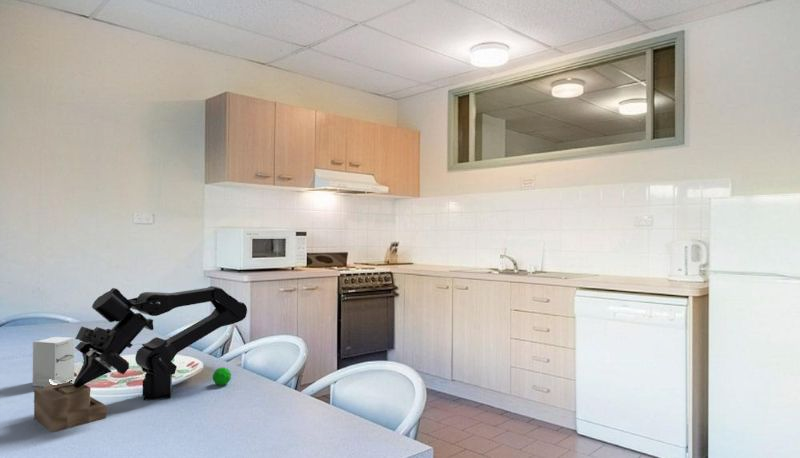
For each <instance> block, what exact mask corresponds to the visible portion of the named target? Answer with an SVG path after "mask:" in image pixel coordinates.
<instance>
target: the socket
mask: <svg viewBox="0 0 800 458" xmlns="http://www.w3.org/2000/svg"><path fill="white" fill-rule="evenodd" d="M73 383H74V382H72V381H70V382H67V383H62V384H57V385H52V386H47V387H38V388H34V389H33V390H34V393H33V394H34V395H33V399H34V400H33V409H34V411H33V414H34V415H33V419H34V420H36V421H37V422H38V423H40V425H42V426H43V427H44V428H46V429H48V430H49V431H50V432H52V433H54V432H57V431H62V430H64V429H65V430H66V429H69V428H72V427H73V428H74V427H76V426H80V425H84V424H88V423H91V422H92V423H93V422H96V421H99V420H103V419H106V418H107V405H106V404H104V403H103V402H101V401H99V400H97V399H95V398H93V397H92V396H90V406H89V392H88V391H86V390H83V391H78V392H74V393H69V394H65V395H63V394H61V393H59V388H63V387H68V386H72V385H73Z"/></svg>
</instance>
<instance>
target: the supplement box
mask: <svg viewBox="0 0 800 458" xmlns="http://www.w3.org/2000/svg"><path fill="white" fill-rule="evenodd" d="M75 338H76V337H67V336H66V337H64V336H53V337H49V338H44V339H39V340H37V341H33V343H32V386H34V387H39V388H42V387H47V386H52V384H50V382H49V379H52V380H58V381H62V380H70V379H74V380H75V340H76V339H75Z"/></svg>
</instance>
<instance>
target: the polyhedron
mask: <svg viewBox="0 0 800 458" xmlns="http://www.w3.org/2000/svg"><path fill="white" fill-rule="evenodd" d="M212 379H213V382H214V383H215V385H217V386H222V387H223V386H225V385H227V384H228V383H229V382H230V381H231V379H232V373H231V372H230V369H229V368H226V367H219V368H217V369H216V370H214V372H213V374H212Z"/></svg>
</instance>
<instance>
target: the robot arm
mask: <svg viewBox="0 0 800 458" xmlns="http://www.w3.org/2000/svg"><path fill="white" fill-rule="evenodd" d="M209 302H210V303H211V305H212V306H213V307H214V309H213V311H212V313H210V314H209V315H207V316H206V317H204V318H202V319H201V320H199V321H196V322H195V323H193V324H192V325H190V326H188V327H186V328H185V329H182V330H181V331H180V332H178V333H176V334H175V335H172V336H171V337H169V338H166V339H164V338H160V337H157V336H156V337H154V338H152V339H150V340H149V341H147V342H146V343H142V344H141V347H140V348H138V349H137V350H136V354H135V356H134V357H135V363H136V364H137V366H139V367H140V368H141V370H142V372H144V373H145V375H144V378H143V380H142V397H143V401H151V400H152V401H153V400H166V399H171V397H172V394H173V391H174V389H172V387H173V384H172V383H173V382H172V381H173V375H175V373H176V370H177V365H176V364H175V363H173V362H172V361H173V360H174V358H175V357H176V356H177V354H178V353H180V352H181V351H183V350H184V349H186V348H188V347H190V346H192V345H193V344H195V343H196V342H198V341H200V340H201V339H203V338H205V337H206V336H208V335H210V334H211V333H213V332H215V331H216V330H218V329H220V328H221V327H225V326H226V327H227V326H231V325H234V324H237V323H239V322H242V321H243V320H245V319H246V317H247V314H248V307H247V305H246V304H245V303H244V302H243V301H238V300H237V299H236V298H234V297H233V296H232V295H230V294H228V293H227V292H226V291H225V290H224V289H223V288H222V287H220V286H219V287H218V286H213V285H211V286H208V287H202V288H195V289H190V290H182V291H177V292H175V291H174V292H159V291H158V292H157V291H156V292H155V291H154V292H153V291H152V292H151V291H145V292H141V293H140V294H139V295H138V296H137V297H133V298H130V299H128V298H127V297H126V296H124V295H123V293H122V292H121V291H120V290H119V289H118V288H114V287H112V288H111V289H110V290H108V291H106V292H104V293H103V294H101V295H100V296H98V297H97V298H96V299H95V300H94V302H93V304H92V305H91V308H92V309H93V310H94V311H95V312H97V313H98V314H99V315H100V316H101V317H103V318H104V319H105V320H106V321H107V322H109V323H114V322H116V324H115V325H114V326H113V327H112V328H106V329H104V328H101V327H98V326H97V327H95V328H94V329H92V328H88V327H85V326H80V329H79V330H78V333H77V334H76V336H75V337H74V338H75V339H74V340H79V341H80V342H79V343H78V344H77V345H75V346H74V349H76V351H79V352H80V353H81V355H82V359H83V360H82V361H83V364H82V366H81V368H80V370H79V372H78V374H77V376H76V378H74V380H73V381H74V382H72V383H73V386H74V387H76V388H78V387H80V386H82V385H86V384H88V383H90V382H92V381H94V380H96V379H99V378H101V377H102V376H104V375H107V374H110V373H112V370H111V368H114V369H115V370H116V372H117V374H118V373H119V374H121V375H125V373H126V372H127V371H128V370H129V369H130V364H129V362H128V361H127V360H126V359H125V358H123V357H122V356H121V354H122V353H123V352H124V351H125V350H126V348H129V349H130V348H131V347H132V346H133V343H132V342H133V341H134V340H135V338H136V337H137V336H138V335H140V334H141V332H142V331H143V330H144V329H146V330H150V331H153V330H154V319H151V318H146V317H145V316H144V315H146V316H147V315H148V316H151V317H154V316H155V317H157V316H161V315H164V314H165V313H169V312H171V311H172V310H174V309H177V308H181V307H186V306H192V305H198V304H203V303H209ZM133 310H135V311H138V312H136V313H135V312H134V311H133ZM143 314H144V315H143Z"/></svg>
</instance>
